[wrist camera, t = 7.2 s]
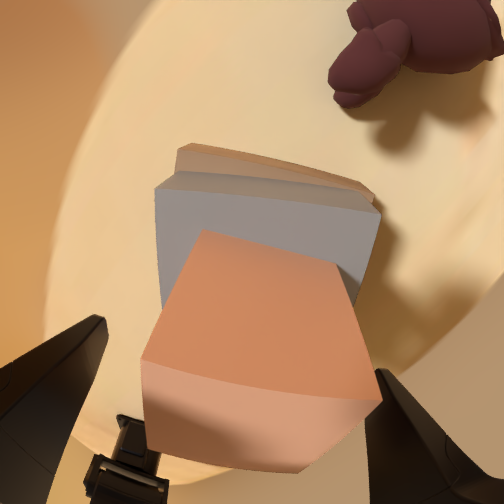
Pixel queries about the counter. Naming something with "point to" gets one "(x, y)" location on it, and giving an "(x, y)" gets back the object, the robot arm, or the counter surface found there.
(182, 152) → the tower bottom
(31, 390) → the robot arm
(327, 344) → the block
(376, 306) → the counter surface
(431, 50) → the maroon plush toy
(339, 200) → the tower top
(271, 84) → the counter surface
